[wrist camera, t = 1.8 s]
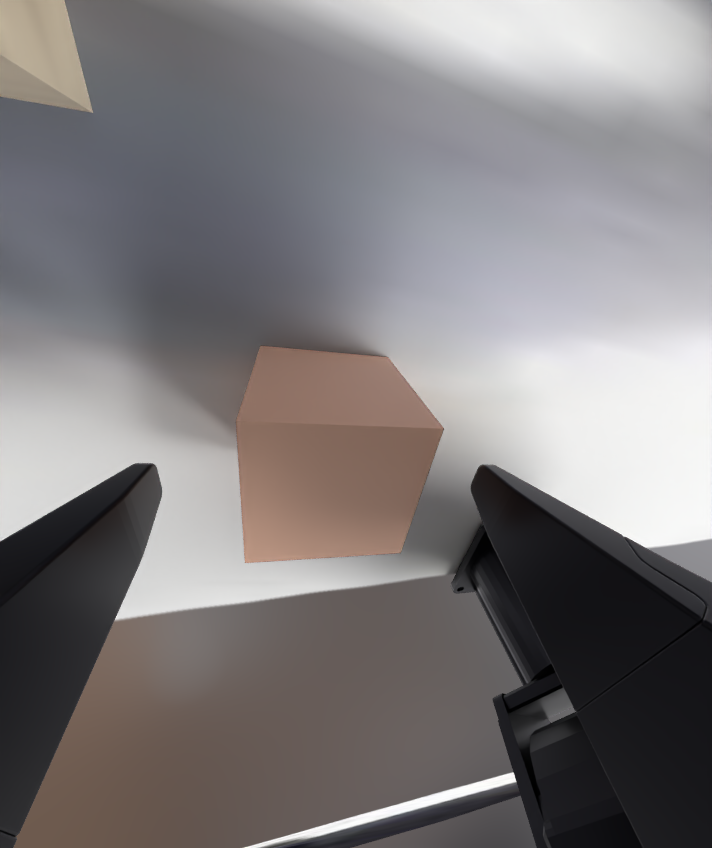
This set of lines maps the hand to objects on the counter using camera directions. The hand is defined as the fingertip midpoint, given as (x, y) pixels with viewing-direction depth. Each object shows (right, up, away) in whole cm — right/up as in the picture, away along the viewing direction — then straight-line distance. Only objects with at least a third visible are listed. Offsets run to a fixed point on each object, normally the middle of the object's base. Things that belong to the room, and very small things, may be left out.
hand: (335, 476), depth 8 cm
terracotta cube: (-1, +2, +3) cm, 4 cm away
